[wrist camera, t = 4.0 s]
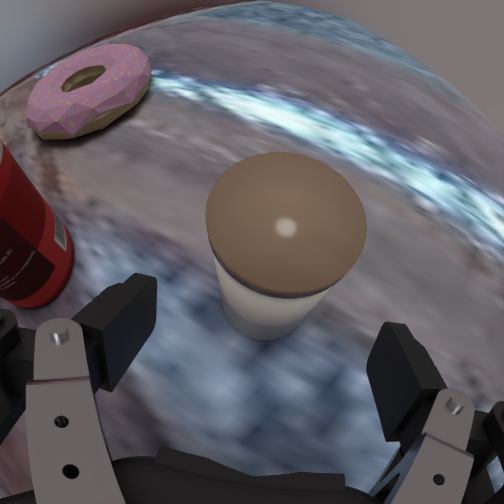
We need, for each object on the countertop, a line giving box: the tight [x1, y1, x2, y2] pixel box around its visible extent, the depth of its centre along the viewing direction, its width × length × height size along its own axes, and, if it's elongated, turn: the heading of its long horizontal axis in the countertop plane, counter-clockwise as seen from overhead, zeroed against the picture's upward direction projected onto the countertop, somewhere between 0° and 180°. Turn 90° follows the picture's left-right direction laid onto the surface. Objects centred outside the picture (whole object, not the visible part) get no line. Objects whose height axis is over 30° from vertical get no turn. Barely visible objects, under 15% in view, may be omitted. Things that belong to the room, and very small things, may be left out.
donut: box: [26, 44, 152, 140], centre depth 26 cm, size 16×15×5 cm
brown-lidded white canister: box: [205, 152, 367, 341], centre depth 15 cm, size 6×6×10 cm
